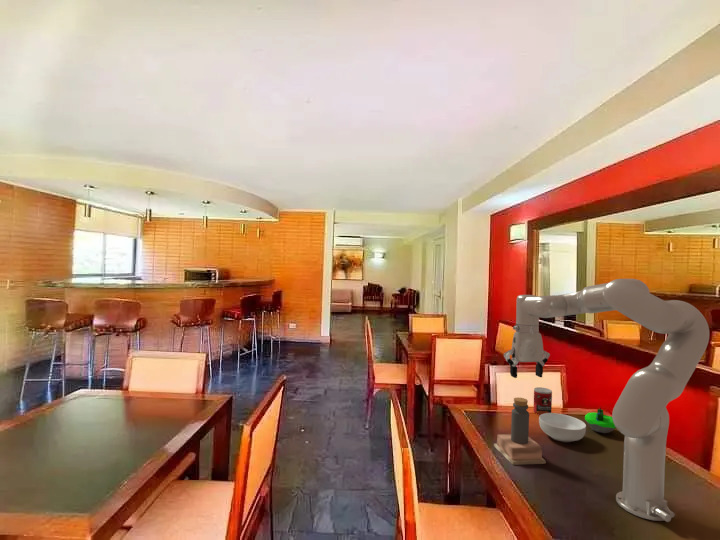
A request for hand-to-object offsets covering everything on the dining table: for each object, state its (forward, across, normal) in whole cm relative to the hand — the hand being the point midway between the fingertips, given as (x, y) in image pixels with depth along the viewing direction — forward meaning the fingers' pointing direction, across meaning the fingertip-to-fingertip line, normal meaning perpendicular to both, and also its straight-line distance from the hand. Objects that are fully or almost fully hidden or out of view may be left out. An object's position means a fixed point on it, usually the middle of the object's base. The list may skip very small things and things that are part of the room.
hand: (526, 376), depth 141 cm
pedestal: (+28, -2, +1) cm, 28 cm away
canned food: (+28, +32, +38) cm, 57 cm away
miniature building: (+29, +44, +17) cm, 56 cm away
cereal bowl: (+29, +23, +13) cm, 39 cm away
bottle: (+24, -2, +1) cm, 24 cm away
